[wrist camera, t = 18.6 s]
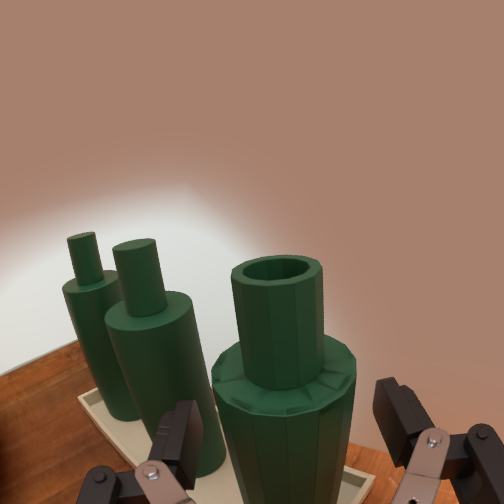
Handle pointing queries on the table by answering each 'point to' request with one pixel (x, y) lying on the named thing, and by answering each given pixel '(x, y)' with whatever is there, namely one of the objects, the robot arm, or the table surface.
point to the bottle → (284, 386)
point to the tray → (211, 486)
